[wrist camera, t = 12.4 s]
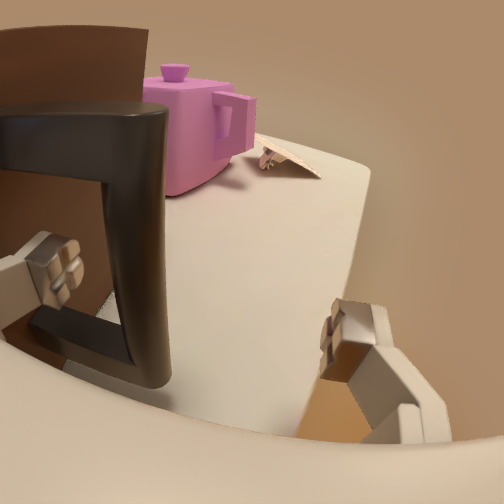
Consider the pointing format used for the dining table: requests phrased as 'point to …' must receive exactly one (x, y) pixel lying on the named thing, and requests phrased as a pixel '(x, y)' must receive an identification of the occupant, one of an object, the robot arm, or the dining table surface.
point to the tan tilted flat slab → (277, 155)
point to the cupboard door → (87, 192)
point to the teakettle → (200, 125)
